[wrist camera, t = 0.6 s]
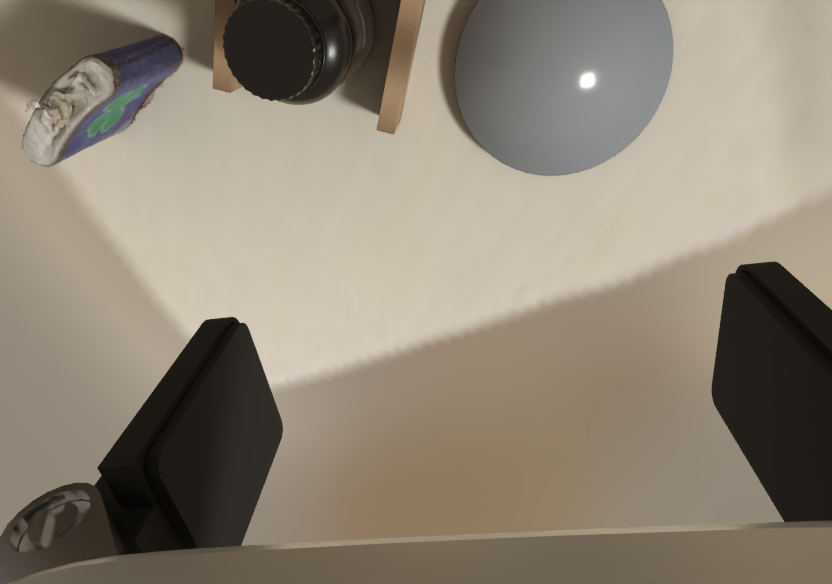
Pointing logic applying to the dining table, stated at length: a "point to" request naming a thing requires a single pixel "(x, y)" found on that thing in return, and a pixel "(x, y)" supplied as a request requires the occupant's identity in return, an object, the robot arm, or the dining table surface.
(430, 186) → the dining table surface
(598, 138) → the plate
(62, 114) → the flask
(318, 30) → the supplement bottle
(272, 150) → the dining table surface
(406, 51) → the brown wooden arch piece
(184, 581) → the robot arm
